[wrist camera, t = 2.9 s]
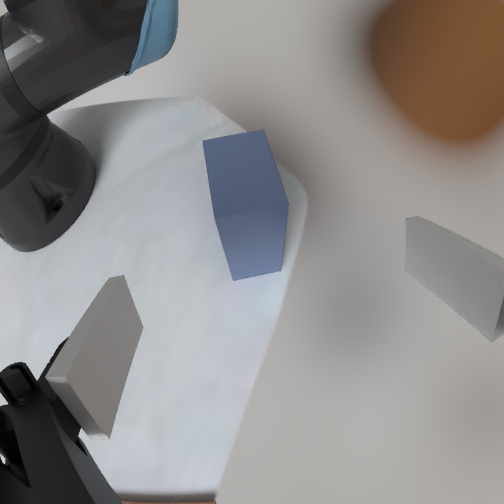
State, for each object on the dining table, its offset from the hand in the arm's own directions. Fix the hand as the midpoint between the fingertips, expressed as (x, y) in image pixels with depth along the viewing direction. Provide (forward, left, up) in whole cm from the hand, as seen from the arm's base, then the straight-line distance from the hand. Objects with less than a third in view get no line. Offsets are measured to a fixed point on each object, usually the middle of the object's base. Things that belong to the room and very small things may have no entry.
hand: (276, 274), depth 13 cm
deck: (-7, 0, -11) cm, 14 cm away
